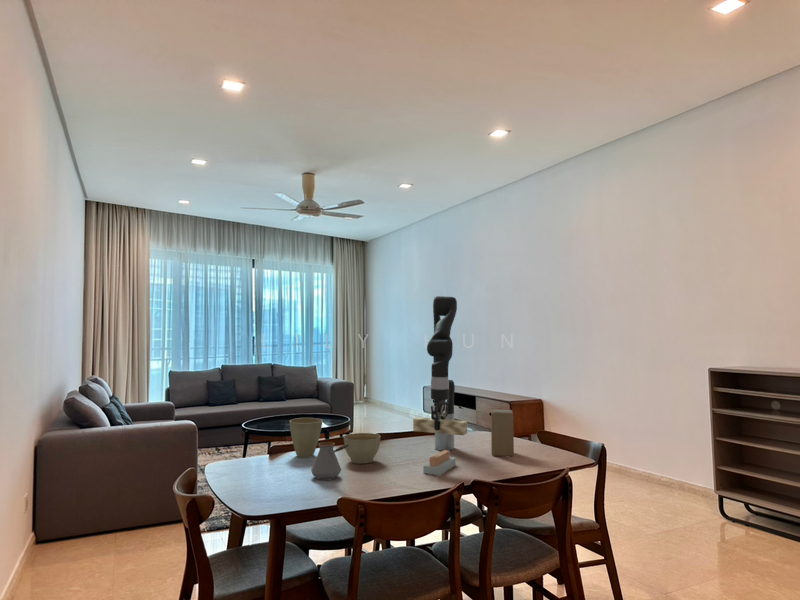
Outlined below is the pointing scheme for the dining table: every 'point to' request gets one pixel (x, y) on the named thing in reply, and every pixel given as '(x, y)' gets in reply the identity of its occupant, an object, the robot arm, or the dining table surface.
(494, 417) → the wooden block
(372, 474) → the dining table surface
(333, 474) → the coffee pot
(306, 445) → the plant pot
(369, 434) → the planter bowl
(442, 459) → the fulcrum
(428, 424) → the batten
